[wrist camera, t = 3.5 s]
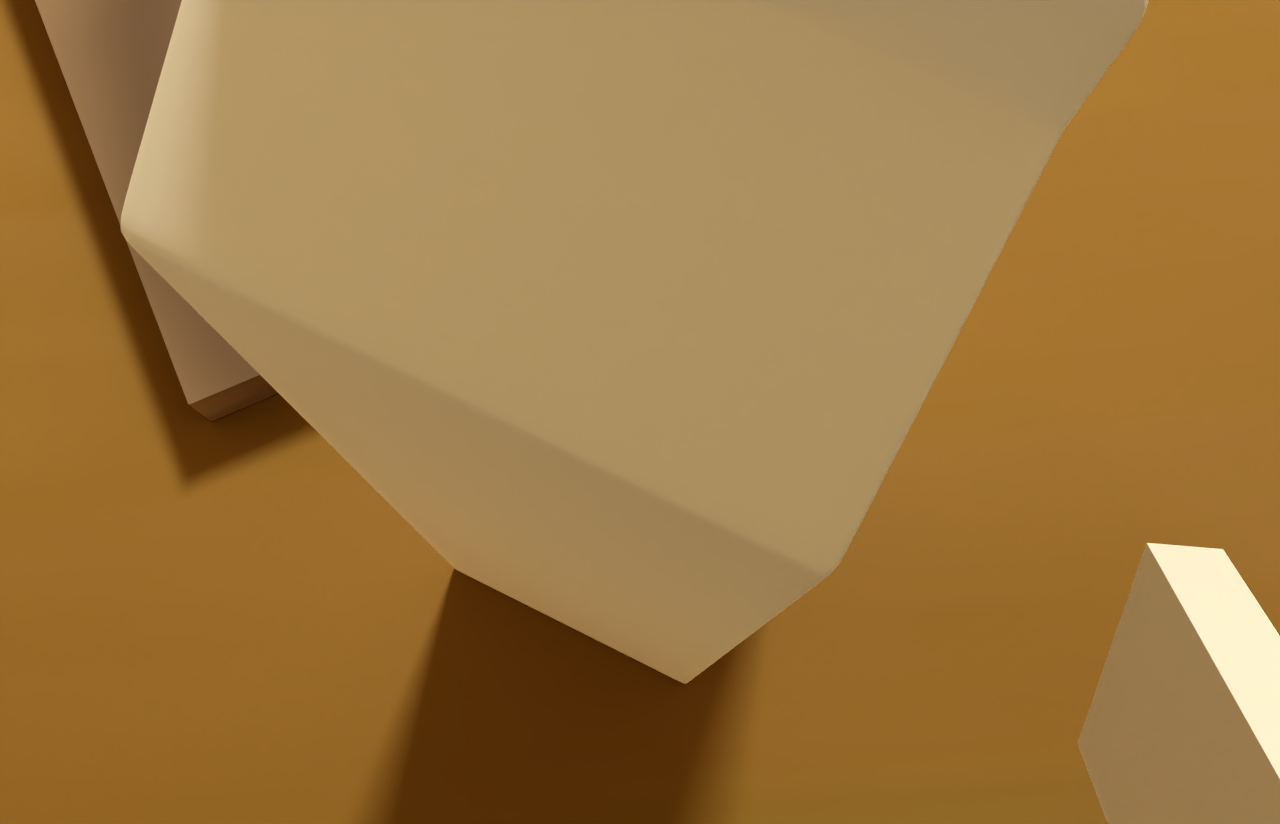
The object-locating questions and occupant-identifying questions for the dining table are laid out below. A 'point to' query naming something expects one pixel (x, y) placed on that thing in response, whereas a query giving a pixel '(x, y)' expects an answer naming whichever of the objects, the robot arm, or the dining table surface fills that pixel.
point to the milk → (609, 263)
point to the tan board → (114, 125)
